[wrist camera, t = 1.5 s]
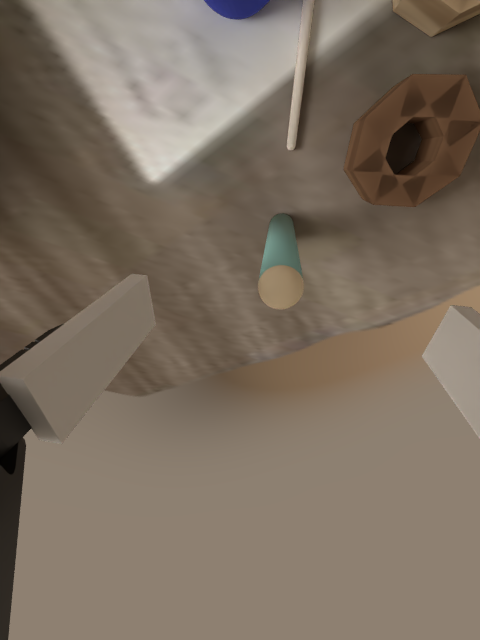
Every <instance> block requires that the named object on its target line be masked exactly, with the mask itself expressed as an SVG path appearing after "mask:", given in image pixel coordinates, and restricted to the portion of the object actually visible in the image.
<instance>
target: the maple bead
mask: <svg viewBox="0 0 480 640" xmlns="http://www.w3.org/2000/svg"><path fill="white" fill-rule="evenodd" d="M392 1H393V12H395V13H396V14H398V15H399V16H401V17H402V18H404V19H405V20H407V21H408V22H409V23H411V24H412V25H414V26H415V27H417V28H418V29H420V30H421V31H423V32H424V33H426V34H427V35H428V36H430V37H433V36H435V35H437V34H439V33H441V32H443V31H445V30H447V29H449V28H451V27H453V26H455V25H457V24H459V23H461V22H464V21H466V20H468V19H470V18H472V17H474V16H476V15H478V14H480V0H392Z"/></svg>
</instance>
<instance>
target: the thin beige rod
mask: <svg viewBox="0 0 480 640" xmlns="http://www.w3.org/2000/svg"><path fill="white" fill-rule="evenodd" d="M314 2H315V0H303V6H302V15H301V24H300V32H299V41H298V50H297V59H296V68H295V76H294V85H293V94H292V103H291V112H290V120H289V129H288V138H287V149H288V150H293V149H294V148H295V147H296V140H297V132H298V125H299V117H300V109H301V101H302V94H303V86H304V78H305V71H306V63H307V55H308V48H309V40H310V32H311V25H312V17H313V9H314Z"/></svg>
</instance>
